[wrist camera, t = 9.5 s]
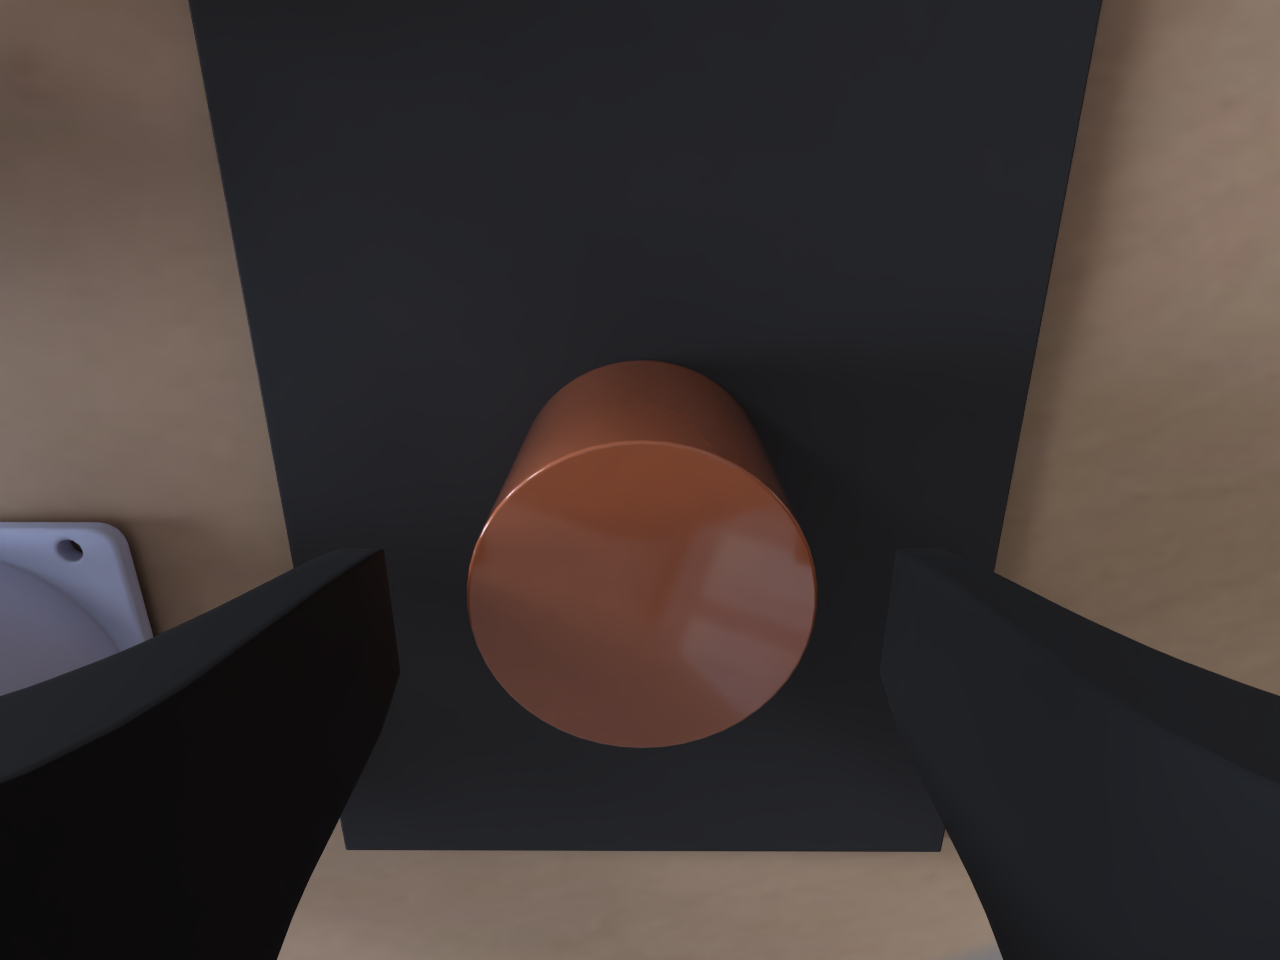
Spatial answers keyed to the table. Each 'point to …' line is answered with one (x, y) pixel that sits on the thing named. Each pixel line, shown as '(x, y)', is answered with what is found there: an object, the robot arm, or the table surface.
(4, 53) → the table surface
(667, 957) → the table surface
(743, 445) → the copper cylinder
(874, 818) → the mat
